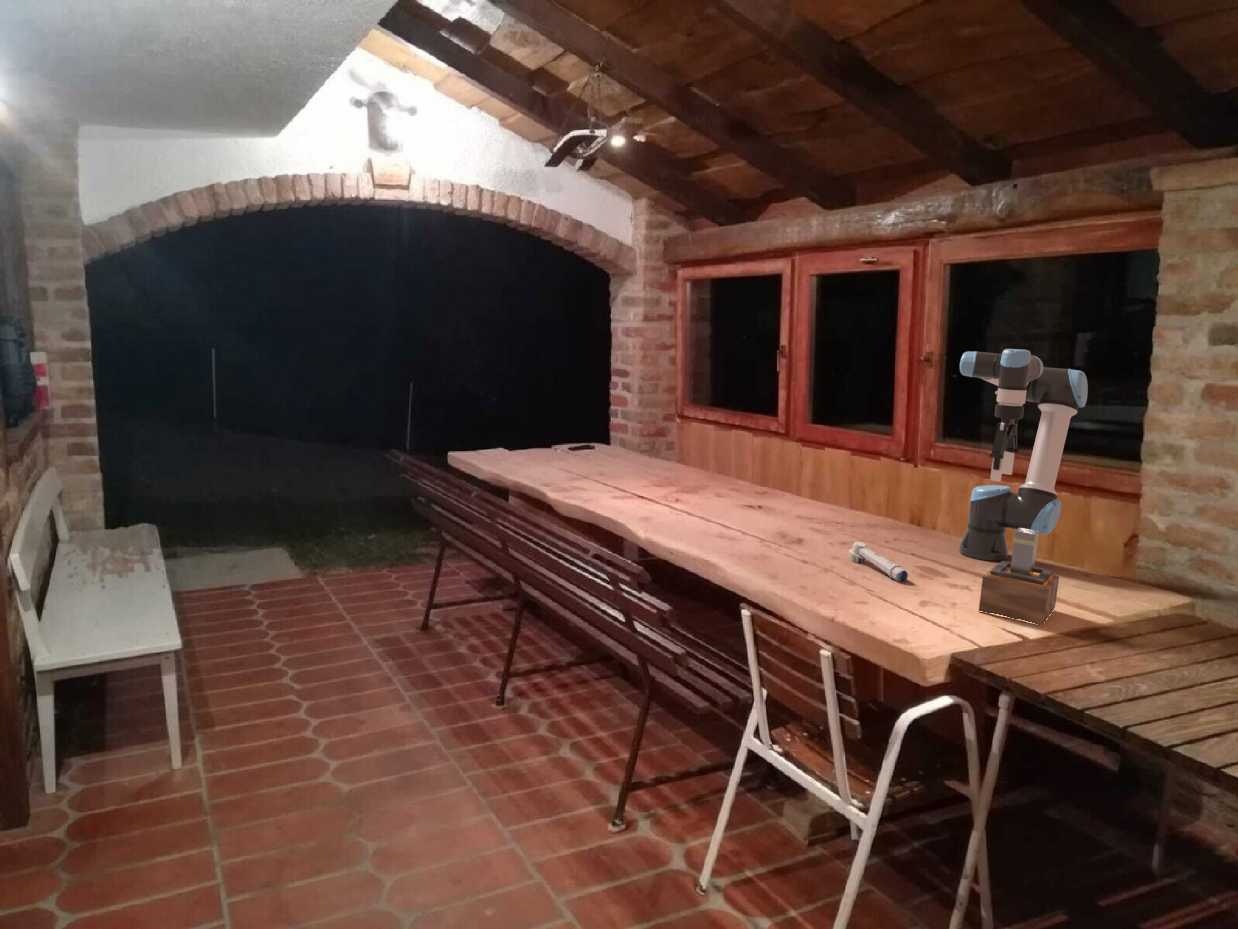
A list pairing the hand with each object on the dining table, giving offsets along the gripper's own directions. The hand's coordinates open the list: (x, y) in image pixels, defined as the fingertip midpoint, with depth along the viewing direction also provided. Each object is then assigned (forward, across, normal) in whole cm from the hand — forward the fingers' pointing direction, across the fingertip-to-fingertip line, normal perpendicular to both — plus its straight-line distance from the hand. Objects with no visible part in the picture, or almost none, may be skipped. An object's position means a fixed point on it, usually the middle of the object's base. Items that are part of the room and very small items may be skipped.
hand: (1001, 477), depth 263 cm
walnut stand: (+33, +18, +12) cm, 39 cm away
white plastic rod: (+33, +7, -31) cm, 46 cm away
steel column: (+22, +18, +12) cm, 31 cm away
